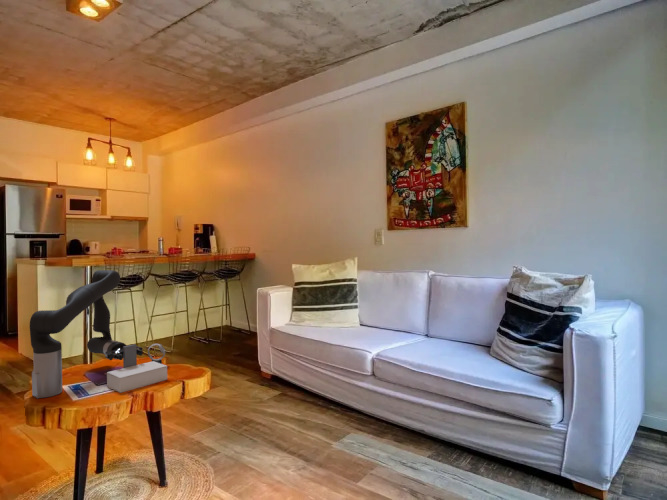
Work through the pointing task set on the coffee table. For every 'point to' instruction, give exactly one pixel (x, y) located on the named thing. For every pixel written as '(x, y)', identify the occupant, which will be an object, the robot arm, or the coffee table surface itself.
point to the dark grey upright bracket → (129, 356)
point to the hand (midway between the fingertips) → (131, 355)
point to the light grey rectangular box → (136, 376)
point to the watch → (160, 350)
